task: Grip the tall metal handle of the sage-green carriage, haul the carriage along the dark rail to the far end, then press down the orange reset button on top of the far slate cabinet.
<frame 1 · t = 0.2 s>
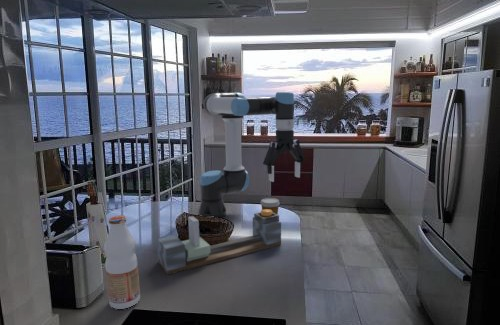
hand: (284, 179, 155), 28 cm above the countertop, tool pointing down, fingers open, 13 cm apart
disposable coffee cup: (270, 223, 181), on the countertop
rail bench: (222, 252, 149), on the countertop
fruit juice: (125, 302, 115), on the countertop
carriage: (194, 237, 141), point 9 cm above the countertop, slide at -12.0 cm
reset button: (266, 213, 157), point 13 cm above the countertop, slide at 0.0 cm
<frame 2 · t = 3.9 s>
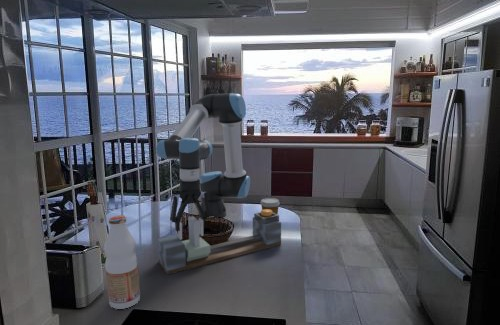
hand: (190, 236, 140), 10 cm above the countertop, tool pointing down, fingers open, 8 cm apart
nothing on the countertop moved.
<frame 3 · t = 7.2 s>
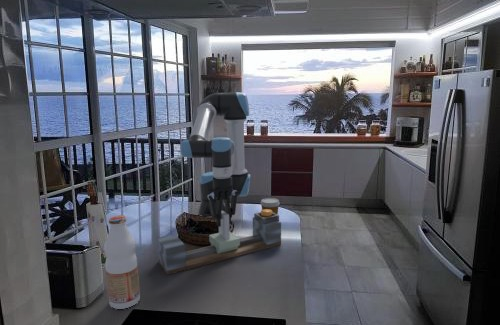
hand: (224, 232, 148), 9 cm above the countertop, tool pointing down, fingers closed on carriage, 2 cm apart
carriage: (224, 230, 148), point 9 cm above the countertop, slide at 0.9 cm, touching gripper
everything else where it was.
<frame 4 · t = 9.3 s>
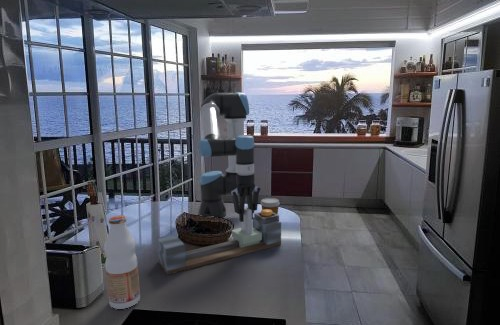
hand: (246, 227, 153), 9 cm above the countertop, tool pointing down, fingers closed on carriage, 2 cm apart
carriage: (246, 225, 153), point 9 cm above the countertop, slide at 11.4 cm, touching gripper
everything else where it was.
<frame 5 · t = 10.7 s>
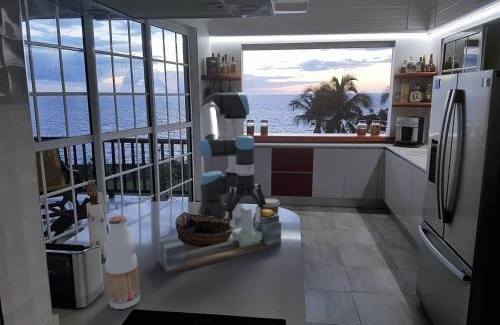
hand: (245, 224, 152), 10 cm above the countertop, tool pointing down, fingers open, 12 cm apart
carriage: (246, 225, 153), point 9 cm above the countertop, slide at 11.5 cm
everything else where it was.
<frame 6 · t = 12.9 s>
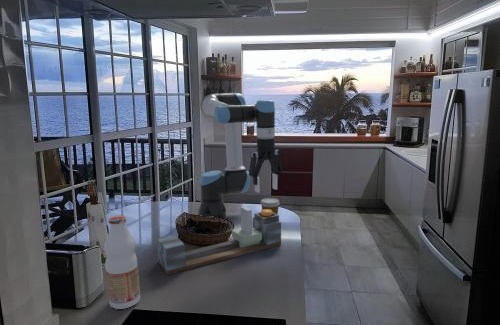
hand: (266, 190, 155), 23 cm above the countertop, tool pointing down, fingers open, 8 cm apart
nothing on the countertop moved.
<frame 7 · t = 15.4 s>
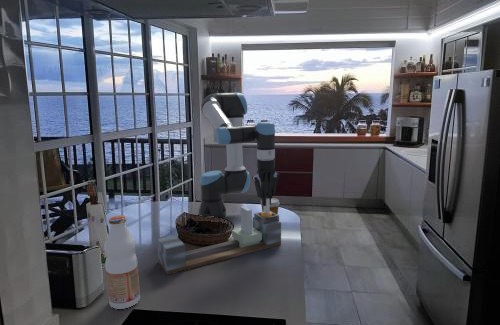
hand: (266, 212, 157), 13 cm above the countertop, tool pointing down, fingers closed
reset button: (266, 215, 157), point 12 cm above the countertop, slide at 0.9 cm, touching gripper
everything else where it was.
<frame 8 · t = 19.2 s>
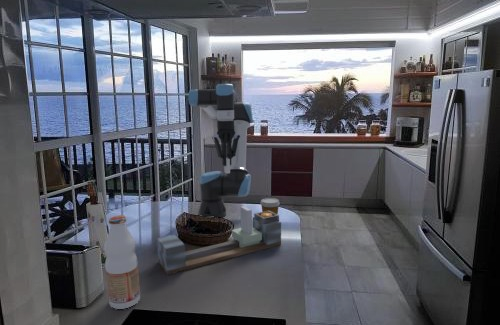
hand: (227, 172, 162), 29 cm above the countertop, tool pointing down, fingers closed
reset button: (266, 217, 157), point 11 cm above the countertop, slide at 1.6 cm
everything else where it was.
at the end: carriage slide at 11.5 cm; reset button slide at 1.6 cm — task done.
